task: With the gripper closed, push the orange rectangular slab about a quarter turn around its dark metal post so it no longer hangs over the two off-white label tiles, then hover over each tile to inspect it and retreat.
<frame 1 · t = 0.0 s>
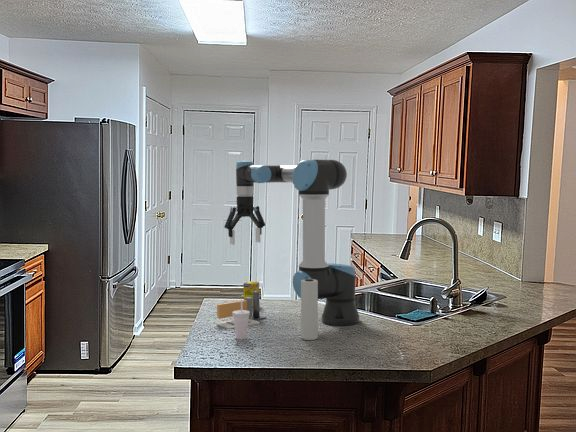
hand: (245, 243, 294), 28 cm above the counter, fingers open, 13 cm apart
paper towel roll: (310, 338, 239), on the counter
pivot post: (256, 318, 270), on the counter
label tile a: (247, 322, 263), on the counter
label tile b: (229, 325, 258), on the counter
smoothie: (241, 338, 239), on the counter
supplement box: (251, 307, 293), on the counter
orange rectangular slab: (234, 309, 264), point 5 cm above the counter, hinge at 0.0°
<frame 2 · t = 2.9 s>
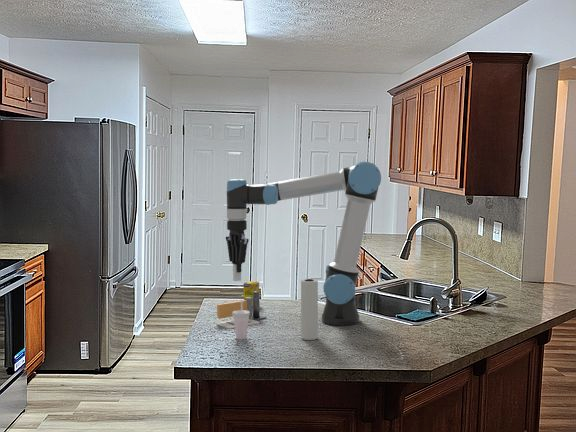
hand: (237, 280, 254), 18 cm above the counter, fingers closed
nothing on the counter moved.
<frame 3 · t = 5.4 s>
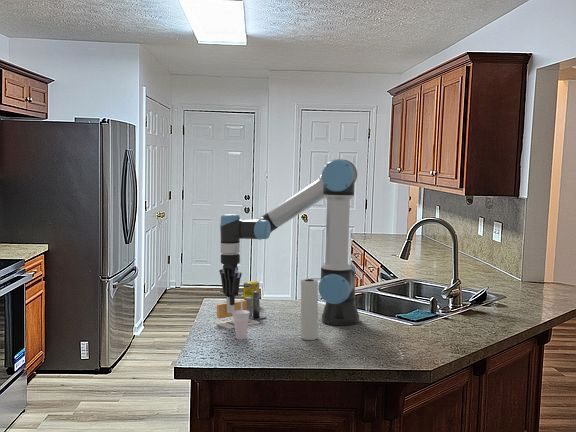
hand: (230, 312, 260), 5 cm above the counter, fingers closed
orange rectangular slab: (234, 309, 264), point 5 cm above the counter, hinge at 0.8°, touching gripper
everything else where it was.
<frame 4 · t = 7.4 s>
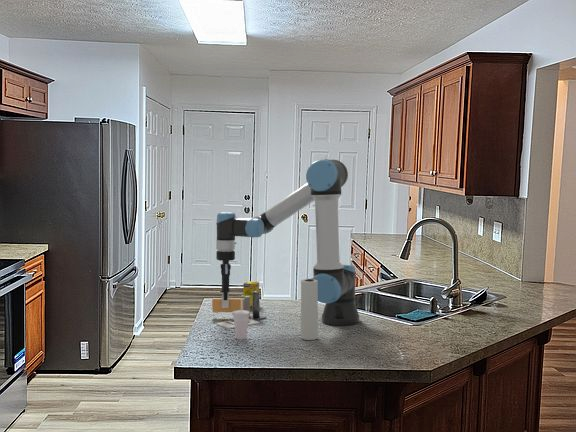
hand: (225, 307, 269), 5 cm above the counter, fingers closed
orange rectangular slab: (231, 305, 271), point 5 cm above the counter, hinge at 40.9°, touching gripper
everything else where it was.
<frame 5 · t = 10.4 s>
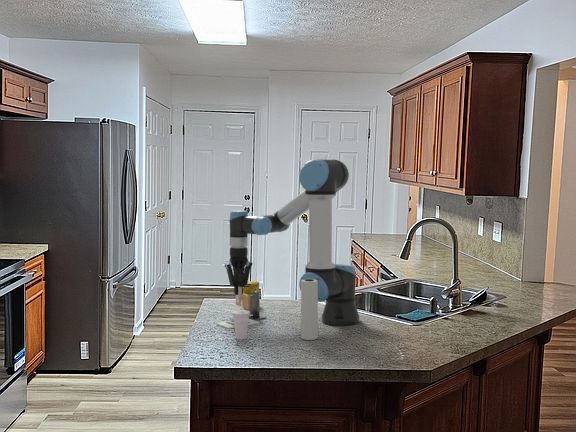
hand: (238, 301, 281), 5 cm above the counter, fingers closed
orange rectangular slab: (245, 301, 279), point 5 cm above the counter, hinge at 97.2°, touching gripper
everything else where it was.
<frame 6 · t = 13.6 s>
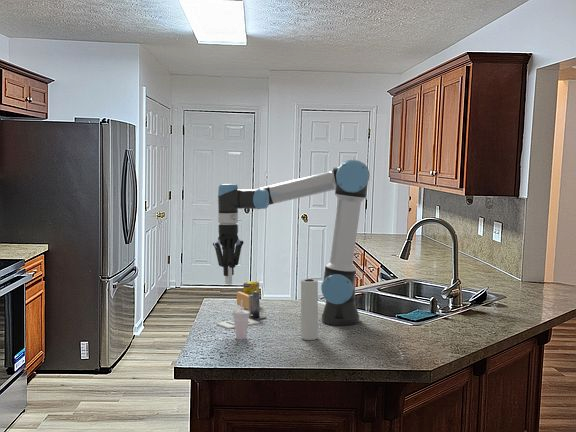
hand: (228, 283, 257), 16 cm above the counter, fingers closed
orange rectangular slab: (245, 301, 279), point 5 cm above the counter, hinge at 99.0°
everything else where it was.
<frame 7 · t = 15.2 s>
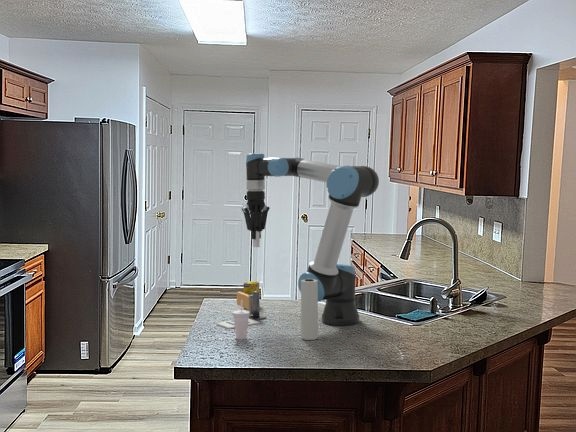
hand: (256, 246, 276), 29 cm above the counter, fingers closed
nothing on the counter moved.
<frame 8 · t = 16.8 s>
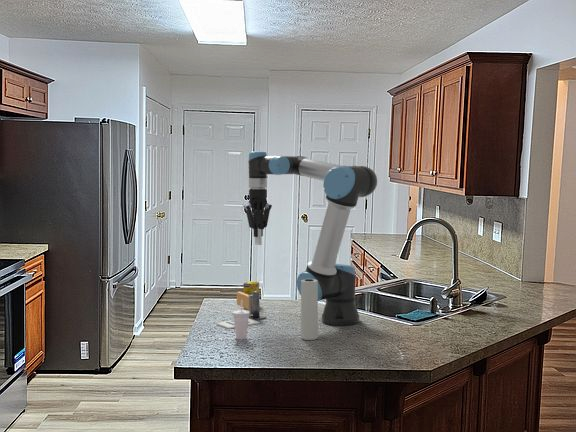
hand: (258, 244, 277), 29 cm above the counter, fingers closed
nothing on the counter moved.
at the end: orange rectangular slab at +99° (first picture: +0°); the gripper is holding nothing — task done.
